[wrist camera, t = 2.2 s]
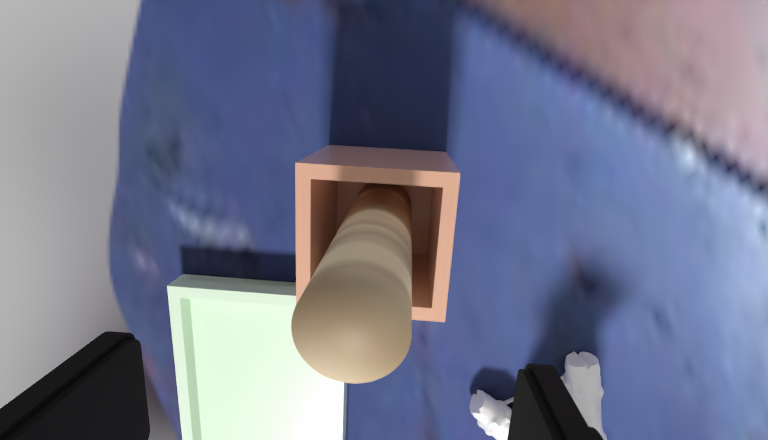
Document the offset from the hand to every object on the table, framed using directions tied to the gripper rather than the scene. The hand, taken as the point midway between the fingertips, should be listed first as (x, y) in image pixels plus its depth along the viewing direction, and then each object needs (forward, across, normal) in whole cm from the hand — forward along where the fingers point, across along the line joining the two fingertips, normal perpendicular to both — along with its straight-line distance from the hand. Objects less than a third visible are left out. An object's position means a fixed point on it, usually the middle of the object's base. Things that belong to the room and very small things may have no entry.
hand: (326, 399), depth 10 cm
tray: (+18, +8, +13) cm, 24 cm away
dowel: (+17, 0, -1) cm, 17 cm away
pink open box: (+18, 0, -1) cm, 18 cm away
